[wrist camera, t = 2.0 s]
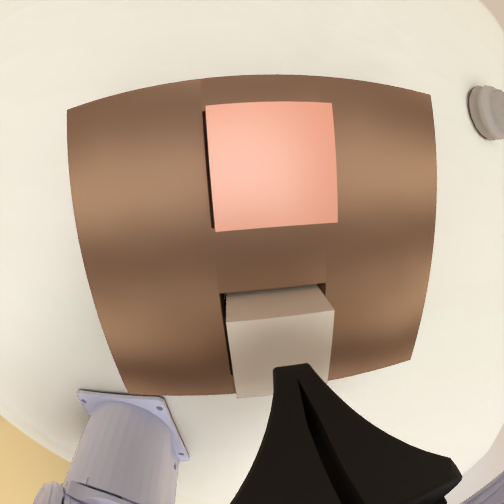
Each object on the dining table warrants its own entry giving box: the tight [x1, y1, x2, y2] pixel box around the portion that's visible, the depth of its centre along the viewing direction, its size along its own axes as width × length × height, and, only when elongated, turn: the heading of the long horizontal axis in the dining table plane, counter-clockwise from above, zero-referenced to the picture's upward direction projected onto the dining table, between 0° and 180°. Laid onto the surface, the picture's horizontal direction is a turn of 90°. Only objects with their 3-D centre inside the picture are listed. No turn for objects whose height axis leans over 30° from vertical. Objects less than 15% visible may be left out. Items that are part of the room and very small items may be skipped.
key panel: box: [67, 75, 437, 396], centre depth 14 cm, size 16×18×3 cm
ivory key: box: [226, 284, 335, 398], centre depth 13 cm, size 4×4×4 cm
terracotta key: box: [205, 101, 338, 232], centre depth 11 cm, size 4×4×4 cm
